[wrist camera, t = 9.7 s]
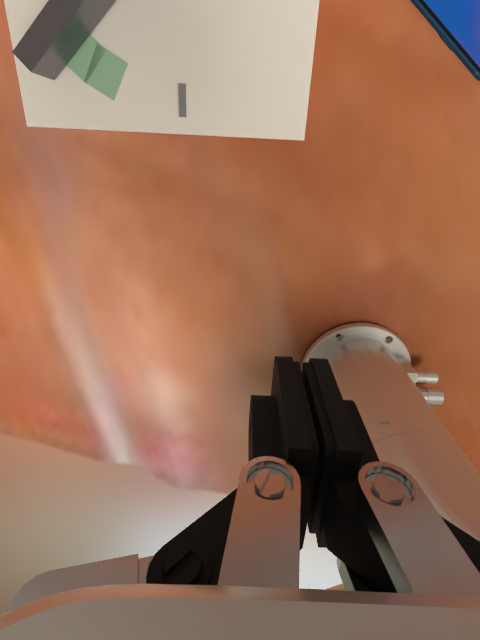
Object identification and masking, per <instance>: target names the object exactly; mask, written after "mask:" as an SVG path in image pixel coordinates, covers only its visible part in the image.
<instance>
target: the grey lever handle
mask: <svg viewBox="0 0 480 640" xmlns="http://www.w3.org/2000/svg"><path fill="white" fill-rule="evenodd" d="M115 1H116V0H48V2H47V3H46V5H45V6H44V7H43V9H42V10H41V12H40V13H39V14H38V16H37V17H36V19H35V20H34V22H33V23H32V24H31V26H30V27H29V29H28V30H27V32H26V33H25V34H24V36H23V37H22V39H21V40H20V41H19V43H18V44H17V46H16V47H15V49H14V50H13V51H12V53H13V54H14V55H15V56H16V57H17V58H18V59H19V60H20V61H21V62H22V63H23V64H24V65H25V66H26V68H27V69H28V70H29V71H30V72H32V73H34V74H37V75H40V76H43V77H46V78H49V79H52V80H55V79H56V78H57V77H58V75H59V74H60V73H61V72H62V70H63V69H64V68H65V66H66V65H67V64H68V62H69V61H70V60H71V59H72V57H73V56H74V55H75V53H76V52H77V51H78V49H79V48H80V47H81V46H82V44H83V43H84V42H85V40H86V39H87V38H88V36H89V35H90V34H91V33H92V31H93V30H94V29H95V27H96V26H97V25H98V23H99V22H100V21H101V20H102V18H103V17H104V16H105V14H106V13H107V12H108V10H109V9H110V8H111V6H112V5H113V4H114V3H115Z"/></svg>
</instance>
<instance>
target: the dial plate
mask: <svg viewBox="0 0 480 640" xmlns="http://www.w3.org/2000/svg"><path fill="white" fill-rule="evenodd" d="M319 1H320V0H116V1H115V3H114V4H113V5H112V6H111V8H110V9H109V10H108V12H107V13H106V14H105V16H104V17H103V18H102V20H101V21H100V22H99V23H98V25H97V26H96V27H95V29H94V30H93V31H92V33H91V34H90V35H89V36H88V38H87V39H86V40H85V42H84V43H83V44H82V46H81V47H80V48H79V49H78V51H77V52H76V53H75V55H74V56H73V57H72V59H71V60H70V61H69V62H68V64H67V65H66V66H65V68H64V69H63V70H62V72H61V73H60V74H59V75H58V77H57V78H56V79H55V80H52V79H49V78H46V77H43V76H40V75H37V74H34V73H32V72H30V71H29V70H28V69H27V68H26V66H25V65H24V64H23V63H22V62H21V61H20V60H19V59H18V58H17V57H16V56H15V55H14V58H15V63H16V69H17V74H18V80H19V85H20V91H21V96H22V102H23V107H24V113H25V118H26V123H27V126H29V127H42V128H62V129H82V130H102V131H122V132H141V133H161V134H181V135H201V136H220V137H240V138H260V139H280V140H300V141H303V140H304V138H305V129H306V120H307V110H308V101H309V92H310V83H311V74H312V65H313V55H314V46H315V37H316V28H317V19H318V10H319ZM47 2H48V0H4V3H5V9H6V14H7V20H8V25H9V31H10V36H11V42H12V47H13V50H14V49H15V47H16V46H17V44H18V43H19V41H20V40H21V39H22V37H23V36H24V34H25V33H26V32H27V30H28V29H29V27H30V26H31V24H32V23H33V22H34V20H35V19H36V17H37V16H38V14H39V13H40V12H41V10H42V9H43V7H44V6H45V5H46V3H47Z"/></svg>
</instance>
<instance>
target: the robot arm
mask: <svg viewBox="0 0 480 640" xmlns="http://www.w3.org/2000/svg"><path fill="white" fill-rule="evenodd" d="M337 334H339V335H337ZM417 382H423V383H432V384H435V383H437V382H438V374H437V372H436V371H416V369H414V368H413V367H412V366H411V357H410V355H409V352H408V349H407V348H406V346H405V345H404V343H403V342H402V341H401V340H400V338H399V337H398V336H397V335H396V334H394V333H393V332H392V331H390V330H389V329H387V328H384V327H382V326H380V325H376V324H372V323H351V324H346V325H342V326H339V327H336V328H334V329H332V330H330V331H328V332H326V333H325V334H323V335H322V336H321V337H319V338H318V339H317V340H316V341H315V342H314V343H313V344H312V345H311V346H310V348H309V349H308V351H307V352H306V354H305V356H304V359H303V361H302V366H301V369H300V364H299V362H293V358H292V357H279V356H275V360H274V369H273V379H272V389H271V396H257V395H251V401H250V414H249V462H248V463H247V464H246V465H245V466H244V467H243V469H242V472H241V474H240V478H239V483H238V488H237V489H236V490H234V491H233V492H232V493H230V494H229V495H228V496H227V497H225V498H224V499H223V500H222V501H220V502H219V503H218V504H217V505H215V506H214V507H213V508H211V509H210V510H209V511H208V512H206V513H205V514H204V515H202V516H201V517H200V518H198V519H197V520H196V521H195V522H193V523H192V524H191V525H190V526H188V527H187V528H186V529H184V530H183V531H182V532H181V533H179V534H178V535H177V536H175V537H174V538H173V539H172V540H170V541H169V542H168V543H167V544H165V545H164V546H163V547H162V548H161V549H160V550H159V551H158V552H157V553H156V554H155V555H154V556H150V557H145V558H140V559H139V557H138V554H135V555H130V556H125V557H119V558H114V559H109V560H103V561H98V562H93V563H88V564H83V565H77V566H72V567H67V568H62V569H56V570H51V571H48V572H45V573H42V574H40V575H37V576H35V577H34V578H32V579H31V580H30V581H28V582H27V583H26V584H24V585H23V586H22V587H21V589H20V590H19V591H18V592H17V593H16V594H15V596H14V597H13V599H12V601H11V603H10V606H9V607H8V610H7V612H6V613H5V614H3V615H1V616H0V640H480V475H479V473H478V472H477V471H476V469H475V468H474V466H473V465H472V464H471V462H470V461H469V459H468V458H467V457H466V455H465V454H464V452H463V451H462V450H461V448H460V447H459V445H458V444H457V443H456V441H455V440H454V438H453V437H452V436H451V434H450V433H449V431H448V430H447V429H446V427H445V426H444V424H443V423H442V421H441V420H440V419H439V417H438V416H437V414H436V413H435V412H434V410H433V409H432V407H431V406H430V405H441V404H442V403H443V401H444V393H443V391H442V389H441V388H433V387H422V388H417V386H416V385H415V384H416V383H417ZM429 404H430V405H429ZM307 523H308V528H309V532H310V533H316V537H317V543H318V547H326V548H327V549H328V550H329V551H331V552H332V553H333V554H334V555H335V556H337V565H338V570H339V573H340V576H341V579H342V582H343V584H340V585H337V586H334V587H331V588H328V589H326V590H320V589H299V554H300V553H299V552H300V550H301V549H302V547H303V542H304V536H305V531H306V526H307Z"/></svg>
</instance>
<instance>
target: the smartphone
mask: <svg viewBox="0 0 480 640" xmlns="http://www.w3.org/2000/svg"><path fill="white" fill-rule="evenodd" d="M411 1H412V3H413V4H414V5H415V6H416V7H417V9H418V10H419V11H420V12H421V13H422V15H423V16H424V17H425V18H426V19H427V21H428V22H429V23H430V24H431V25H432V27H433V28H434V29H435V30H436V31H437V33H438V34H439V35H440V37H441V38H442V40H443V41H444V42H445V43H446V44H447V45H448V47H449V48H450V49H451V50H452V51H453V52H454V53H455V54H456V55H457V56H458V58H459V59H460V60H461V61H462V62H463V64H464V65H465V66H466V67H467V68H468V70H469V71H470V72H471V73H472V74H473V76H474V77H475V78H476V79H477V80H479V81H480V0H411ZM475 74H476V75H475Z"/></svg>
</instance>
